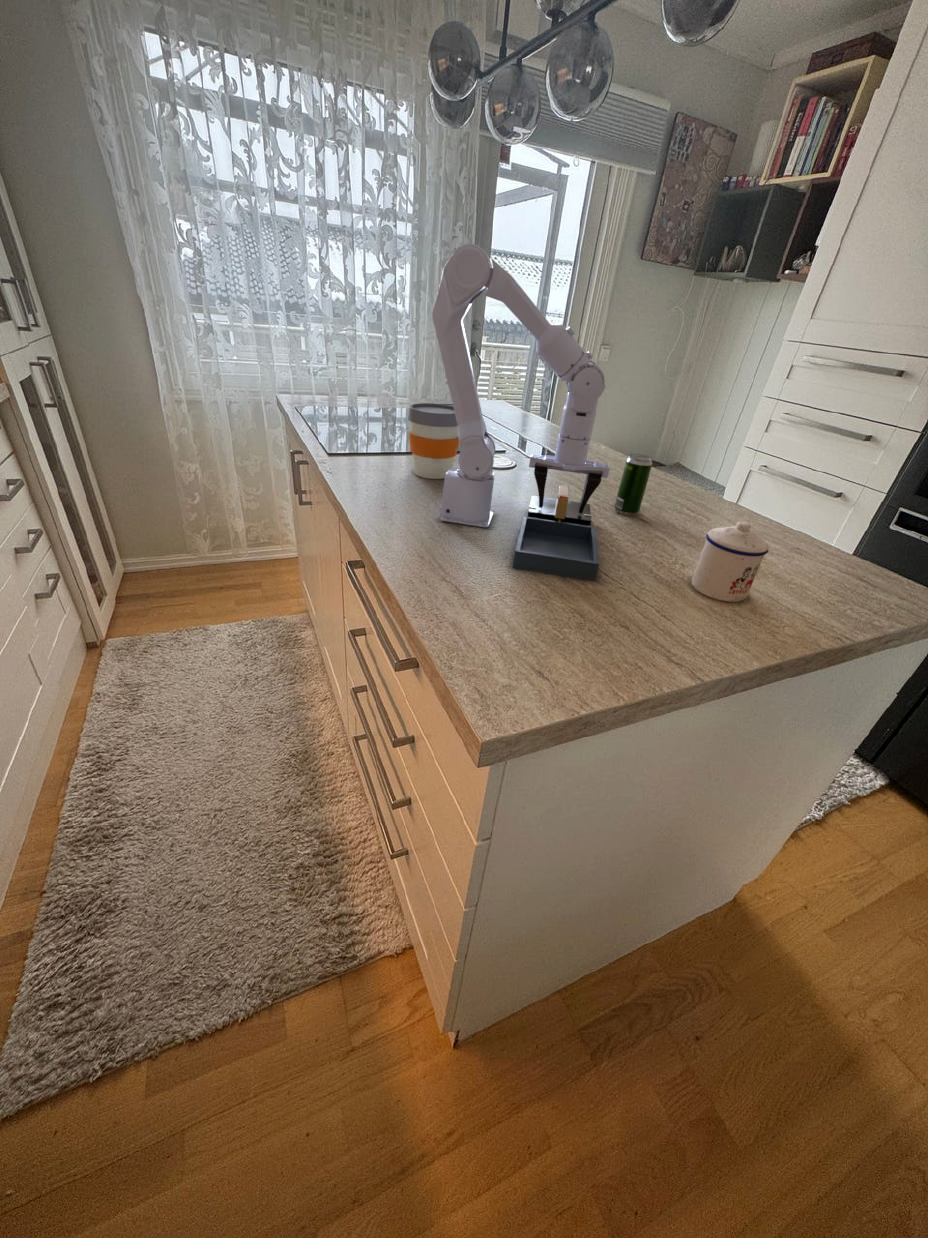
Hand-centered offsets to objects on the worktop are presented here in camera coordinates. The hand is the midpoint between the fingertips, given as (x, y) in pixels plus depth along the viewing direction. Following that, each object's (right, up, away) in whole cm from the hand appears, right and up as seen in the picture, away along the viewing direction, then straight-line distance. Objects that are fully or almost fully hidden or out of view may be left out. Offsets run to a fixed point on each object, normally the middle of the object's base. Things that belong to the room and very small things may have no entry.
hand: (560, 508), depth 100 cm
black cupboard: (0, -3, +3) cm, 4 cm away
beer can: (+17, +2, +15) cm, 23 cm away
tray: (-3, -10, -8) cm, 13 cm away
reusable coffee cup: (-26, +14, +26) cm, 40 cm away
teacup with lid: (+24, -16, -14) cm, 32 cm away
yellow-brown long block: (0, -1, 0) cm, 1 cm away
